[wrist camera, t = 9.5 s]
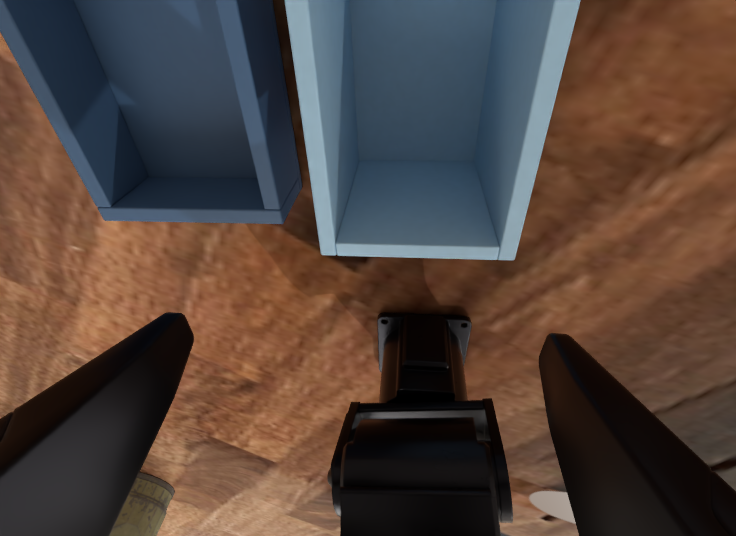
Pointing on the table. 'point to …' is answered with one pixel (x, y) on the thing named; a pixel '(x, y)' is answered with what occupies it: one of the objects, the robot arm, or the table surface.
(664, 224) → the table surface
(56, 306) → the table surface
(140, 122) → the lower bin
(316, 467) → the table surface
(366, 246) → the top bin
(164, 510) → the thermos
